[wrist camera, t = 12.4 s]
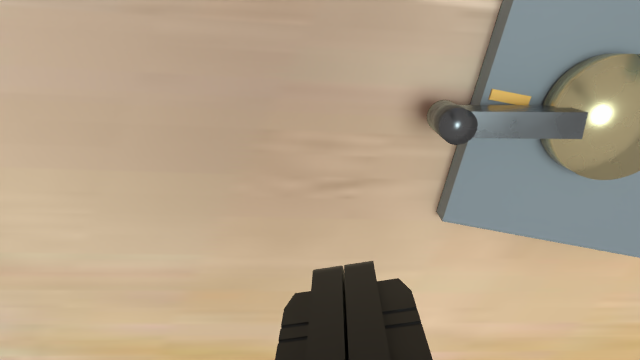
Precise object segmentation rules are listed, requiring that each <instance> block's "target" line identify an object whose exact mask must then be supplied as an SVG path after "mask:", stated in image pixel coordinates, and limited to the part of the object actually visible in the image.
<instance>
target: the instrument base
mask: <svg viewBox="0 0 640 360" xmlns="http://www.w3.org/2000/svg"><path fill="white" fill-rule="evenodd" d="M612 53H622V54H640V0H503V2H502V5H501V8H500V11H499V14H498V17H497V21H496V24H495V27H494V30H493V33H492V37H491V40H490V43H489V46H488V49H487V52H486V56H485V59H484V62H483V65H482V68H481V72H480V75H479V78H478V81H477V84H476V87H475V91H474V94H473V97H472V100H471V103H470V105H543V103H544V101H545V99H546V97H547V95H548V93H549V91H550V90H551V88H552V87H553V86H554V84H555V83H556V82H557V81H558V80H559V79H560V78H561V77H562V76H563V75H564V74H565V73H566V72H567V71H569V70H570V69H571V68H573V67H574V66H576V65H577V64H579V63H581V62H583V61H585V60H587V59H589V58H592V57H595V56H598V55H603V54H612ZM436 212H437V213H438V215H439V217H440V218H441V220H442V221H444V222H450V223H455V224H461V225H466V226H471V227H477V228H482V229H488V230H493V231H498V232H504V233H509V234H515V235H520V236H526V237H531V238H536V239H542V240H547V241H553V242H558V243H563V244H569V245H574V246H580V247H585V248H591V249H596V250H601V251H607V252H612V253H618V254H623V255H628V256H634V257H639V258H640V171H639V172H637V173H634V174H632V175H629V176H626V177H623V178H619V179H613V180H595V179H590V178H586V177H583V176H580V175H578V174H576V173H575V172H573V171H571V170H569V169H567V168H565V167H563V166H562V165H560V164H558V163H557V162H556V161H554V160H553V159H552V158H551V157H550V156H549V155H548V153H547V152H546V150H545V149H544V147H543V144H542V142H541V139H512V138H472V139H471V140H470V141H468V142H466V143H464V144H460V145H457V148H456V151H455V154H454V157H453V161H452V164H451V167H450V170H449V173H448V176H447V180H446V183H445V186H444V189H443V192H442V196H441V199H440V202H439V205H438V208H437V211H436Z"/></svg>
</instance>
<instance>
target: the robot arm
mask: <svg viewBox="0 0 640 360" xmlns="http://www.w3.org/2000/svg"><path fill="white" fill-rule="evenodd" d="M344 272H345V274H344ZM281 327H282V329H281V330H280V335H279V344H278V346H277V352H276V358H275V360H433V359H432V356H431V353H430V350H429V346H428V343H427V340H426V337H425V333H424V330H423V327H422V324H421V320H420V317H419V314H418V311H417V308H416V304H415V301H414V298H413V294H412V291H411V290H410V289H409V288H408V287H407V286H406V285H405V284H404V283H403V282H402V281H401V280H400V279H399V278H398V279H391V280H384V281H377V280H376V274H375V269H374V263H373V261H369V262H362V263H356V264H349V265H344V269H343V266H336V267H330V268H323V269H316V270H313V277H312V288H311V291H309V292H302V293H295V294H294V296H293V297H292V298H291V300H290V301H289V303H288V304H287V306H286V307H285V308H284V313H283V318H282V324H281Z"/></svg>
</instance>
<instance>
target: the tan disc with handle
mask: <svg viewBox="0 0 640 360" xmlns="http://www.w3.org/2000/svg"><path fill="white" fill-rule="evenodd" d="M427 121H428V124H429V126H430V127H431V128H432V129H433V130H434V131H435V132H437V133H438V134H439V135H440V136H441V137H442V138H443V139H444V140H446V141H447V142H448V143H450V144H454V145H460V144H464V143H466V142H468V141H470V140H471V139H472V138H512V139H541V142H542V144H543V147H544V149H545V150H546V152H547V153H548V155H549V156H550V157H551V158H552V159H553V160H554V161H556V162H557V163H558V164H560V165H562V166H563V167H565V168H567V169H569V170H571V171H573V172H575V173H576V174H578V175H580V176H583V177H586V178H590V179H595V180H613V179H619V178H623V177H626V176H629V175H632V174H634V173H637V172H639V171H640V54H622V53H612V54H603V55H598V56H595V57H592V58H589V59H587V60H585V61H583V62H581V63H579V64H577V65H576V66H574V67H573V68H571V69H570V70H569V71H567V72H566V73H565V74H564V75H563V76H562V77H561V78H560V79H559V80H558V81H557V82H556V83H555V84H554V86H553V87H552V88H551V90H550V91H549V93H548V95H547V97H546V99H545V101H544V103H543V105H457V104H455V103H453V102H451V101H448V100H441V101H438V102H436V103H434V104H433V105H432V106H431V107H430V109H429V111H428V113H427Z"/></svg>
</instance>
